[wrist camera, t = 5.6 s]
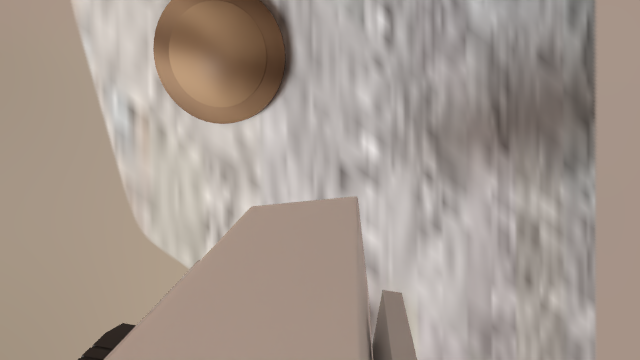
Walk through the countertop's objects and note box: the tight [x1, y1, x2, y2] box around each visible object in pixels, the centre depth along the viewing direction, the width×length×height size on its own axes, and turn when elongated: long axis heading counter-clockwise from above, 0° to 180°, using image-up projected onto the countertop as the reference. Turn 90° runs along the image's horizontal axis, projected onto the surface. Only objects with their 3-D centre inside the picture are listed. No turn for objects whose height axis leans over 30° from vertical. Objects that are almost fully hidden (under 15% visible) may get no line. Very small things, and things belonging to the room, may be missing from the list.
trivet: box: [154, 0, 285, 124], centre depth 30 cm, size 12×12×1 cm
